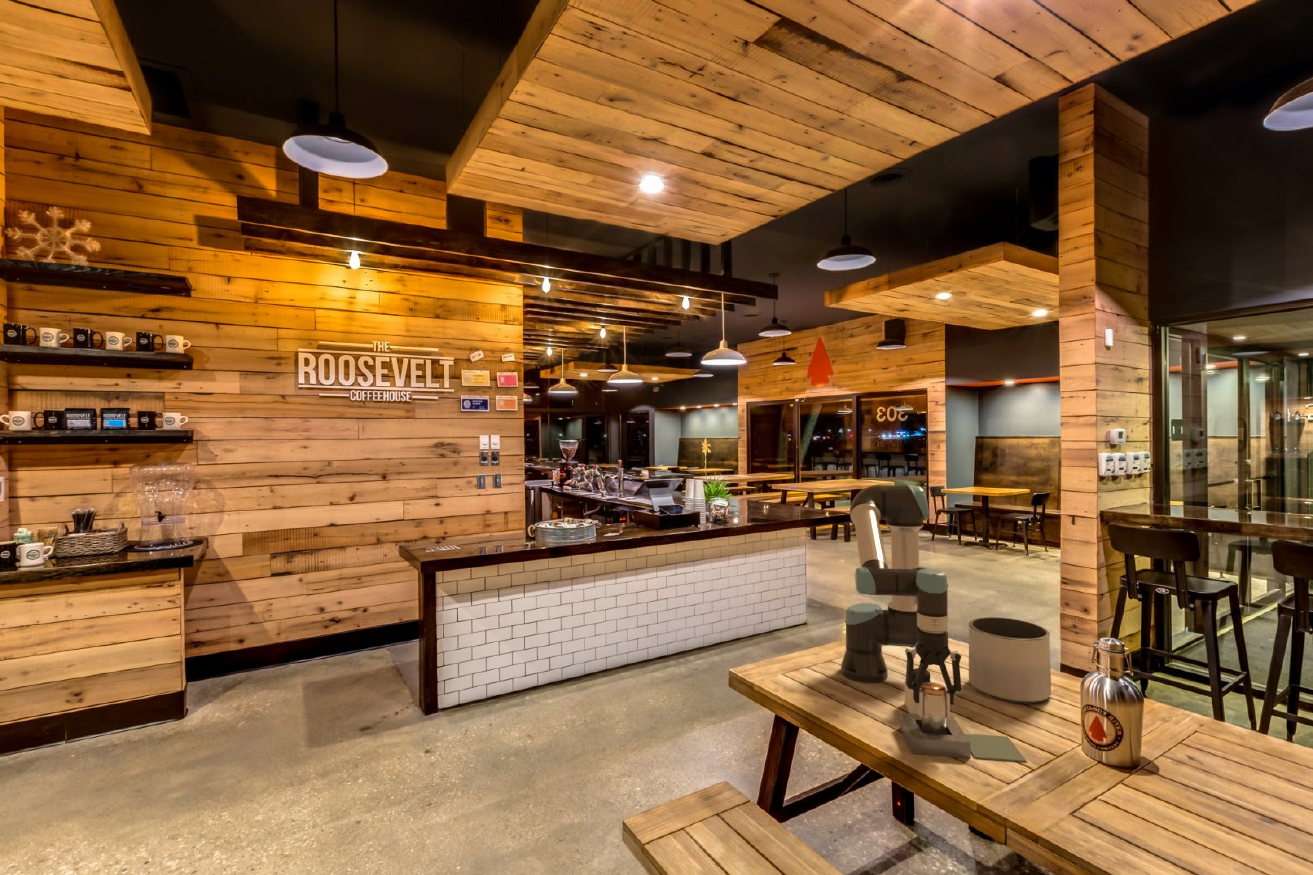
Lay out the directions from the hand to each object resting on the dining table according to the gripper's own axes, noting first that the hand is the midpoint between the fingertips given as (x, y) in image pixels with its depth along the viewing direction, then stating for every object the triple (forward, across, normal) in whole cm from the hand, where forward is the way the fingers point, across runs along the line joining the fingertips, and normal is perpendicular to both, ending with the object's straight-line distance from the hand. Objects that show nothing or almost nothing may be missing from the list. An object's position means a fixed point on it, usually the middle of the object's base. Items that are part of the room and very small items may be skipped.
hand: (933, 715), depth 160 cm
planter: (+8, +32, +37) cm, 50 cm away
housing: (+7, 0, 0) cm, 7 cm away
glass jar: (+5, 0, 0) cm, 5 cm away
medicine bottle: (+8, +1, +19) cm, 21 cm away
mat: (+7, +14, -1) cm, 16 cm away
